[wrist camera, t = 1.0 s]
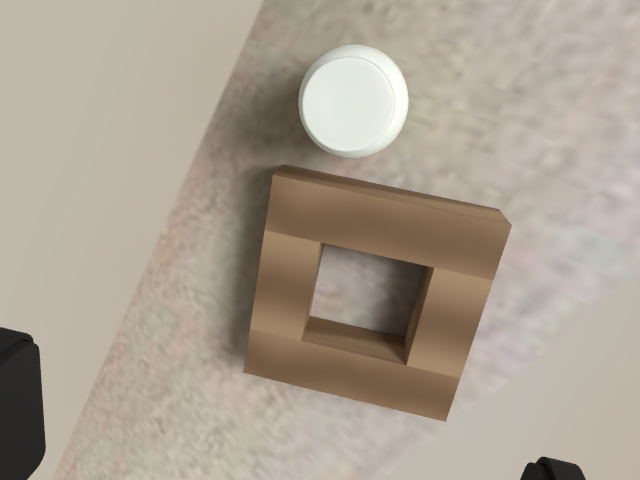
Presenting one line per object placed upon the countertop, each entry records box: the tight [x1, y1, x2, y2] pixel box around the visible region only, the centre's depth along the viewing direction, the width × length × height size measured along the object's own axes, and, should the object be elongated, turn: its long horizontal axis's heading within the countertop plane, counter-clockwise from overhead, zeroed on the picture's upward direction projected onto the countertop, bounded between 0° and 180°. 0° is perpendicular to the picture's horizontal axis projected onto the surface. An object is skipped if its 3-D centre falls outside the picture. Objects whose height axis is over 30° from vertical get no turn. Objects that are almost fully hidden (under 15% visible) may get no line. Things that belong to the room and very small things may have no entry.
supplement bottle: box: [298, 44, 408, 159], centre depth 25 cm, size 5×5×10 cm
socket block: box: [243, 165, 512, 422], centre depth 32 cm, size 14×14×4 cm
